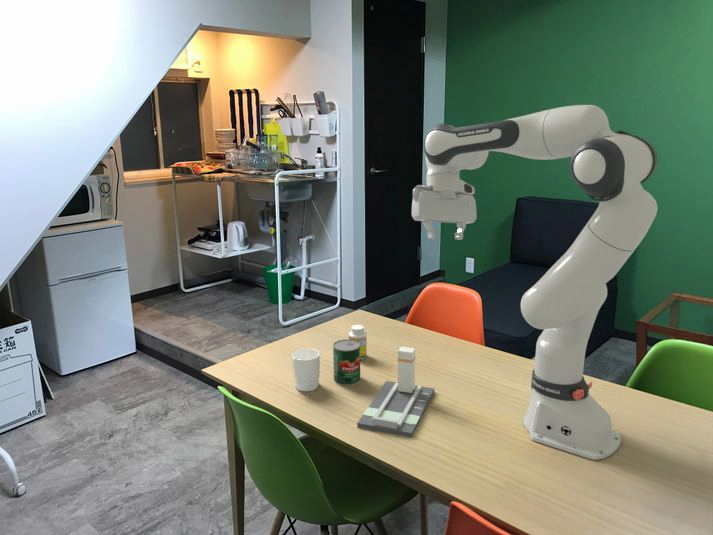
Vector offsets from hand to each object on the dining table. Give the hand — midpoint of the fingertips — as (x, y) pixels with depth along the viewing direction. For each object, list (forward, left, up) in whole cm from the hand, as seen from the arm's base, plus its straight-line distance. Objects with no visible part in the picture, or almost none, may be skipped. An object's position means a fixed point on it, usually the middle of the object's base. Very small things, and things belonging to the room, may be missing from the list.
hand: (445, 238), depth 154 cm
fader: (+3, +12, -41) cm, 43 cm away
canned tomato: (+21, +17, -43) cm, 51 cm away
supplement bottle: (+30, +4, -43) cm, 53 cm away
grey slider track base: (-1, +19, -43) cm, 47 cm away
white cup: (+26, +28, -43) cm, 58 cm away
